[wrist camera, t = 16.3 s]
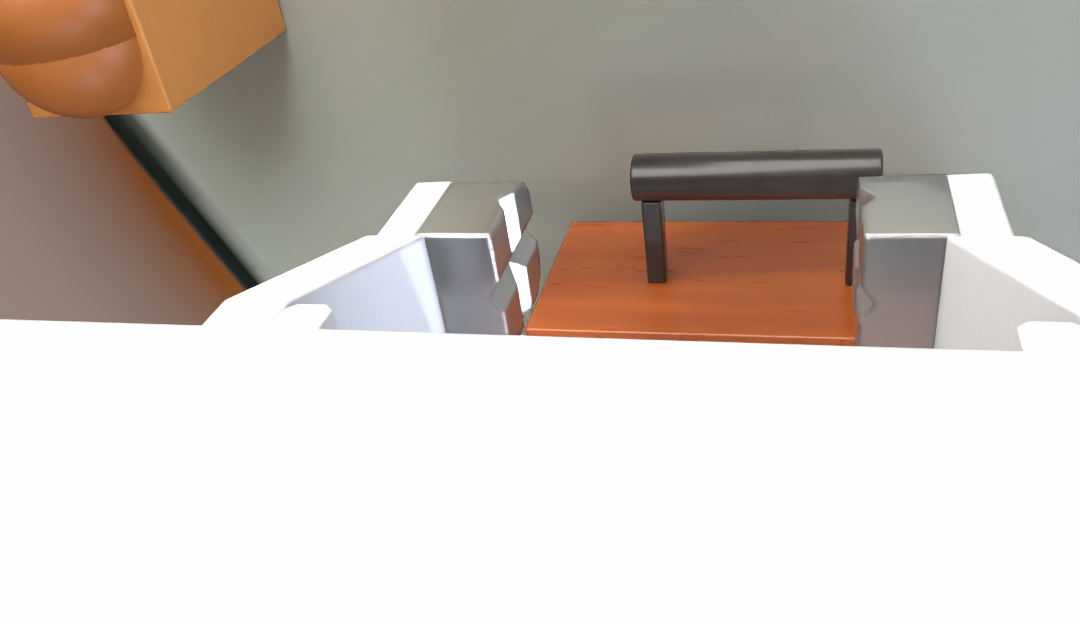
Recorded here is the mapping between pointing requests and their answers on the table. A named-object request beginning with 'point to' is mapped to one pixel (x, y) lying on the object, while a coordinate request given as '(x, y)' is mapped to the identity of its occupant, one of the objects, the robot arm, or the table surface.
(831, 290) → the drawer
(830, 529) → the robot arm
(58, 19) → the muffin in paper box
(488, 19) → the table surface
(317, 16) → the table surface
